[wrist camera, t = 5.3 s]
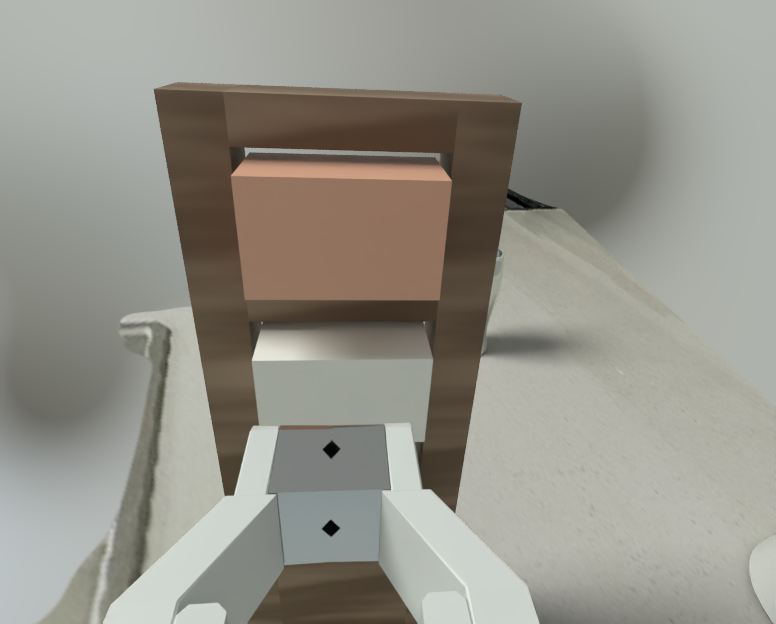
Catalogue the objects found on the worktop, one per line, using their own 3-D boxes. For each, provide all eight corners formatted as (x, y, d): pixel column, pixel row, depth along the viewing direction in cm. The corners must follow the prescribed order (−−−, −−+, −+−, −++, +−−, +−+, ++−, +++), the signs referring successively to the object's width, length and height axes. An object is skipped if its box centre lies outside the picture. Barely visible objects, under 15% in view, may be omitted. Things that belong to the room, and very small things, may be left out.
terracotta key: (439, 300, 21) (452, 180, 18) (244, 300, 20) (230, 175, 17) (425, 262, 24) (434, 157, 22) (259, 260, 23) (249, 152, 21)
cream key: (424, 441, 24) (433, 359, 22) (261, 445, 24) (251, 360, 21) (414, 391, 28) (421, 315, 26) (272, 393, 27) (264, 315, 25)
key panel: (436, 626, 37) (521, 102, 19) (249, 636, 36) (153, 89, 18) (430, 587, 40) (500, 94, 22) (255, 596, 39) (177, 82, 21)
